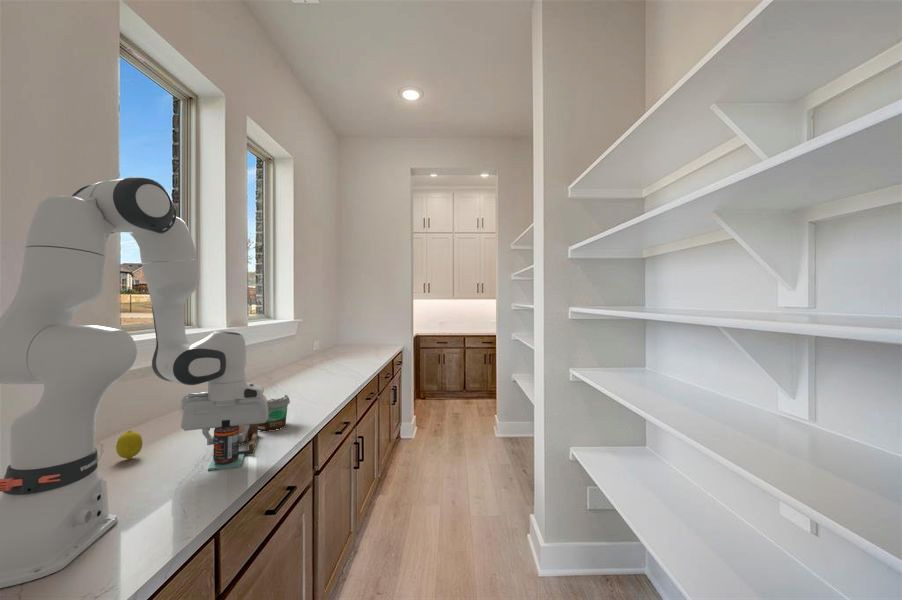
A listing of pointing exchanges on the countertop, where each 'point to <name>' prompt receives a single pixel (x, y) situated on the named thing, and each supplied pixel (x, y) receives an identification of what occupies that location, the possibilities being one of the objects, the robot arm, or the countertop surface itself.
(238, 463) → the coaster
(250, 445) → the rack
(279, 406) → the food container
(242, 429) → the peach capsule
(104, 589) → the countertop surface
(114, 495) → the countertop surface
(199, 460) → the countertop surface
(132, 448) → the lemon
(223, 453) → the supplement bottle
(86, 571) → the countertop surface
